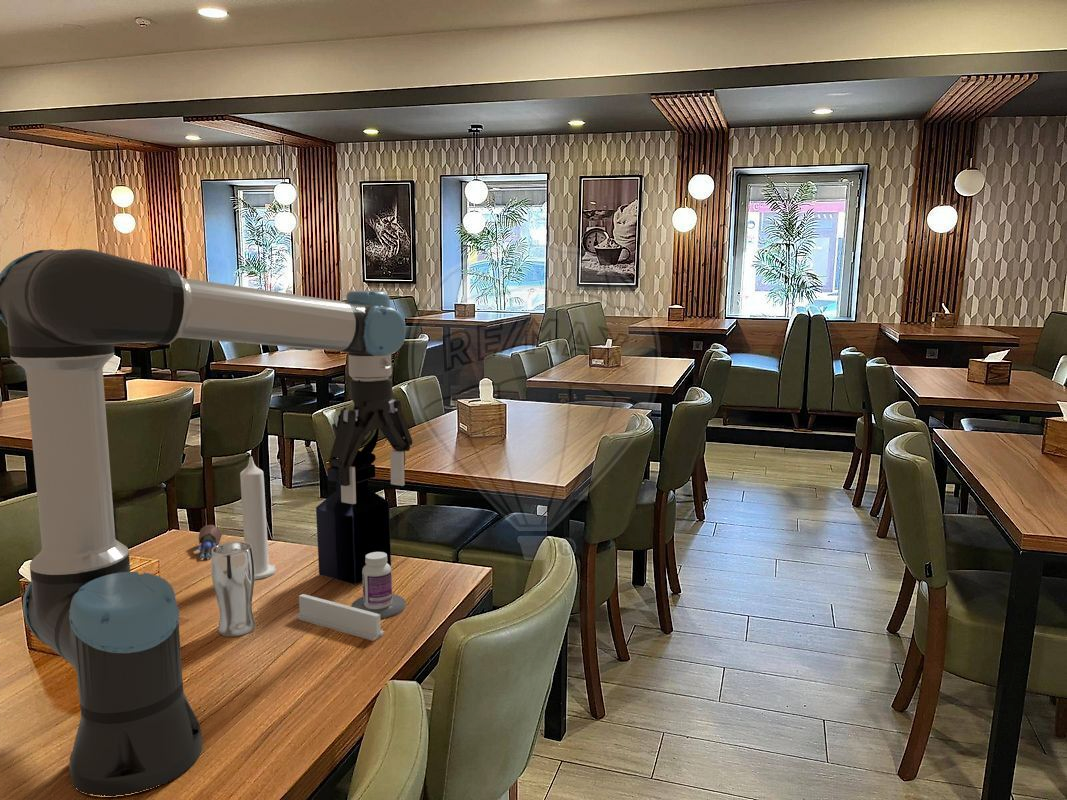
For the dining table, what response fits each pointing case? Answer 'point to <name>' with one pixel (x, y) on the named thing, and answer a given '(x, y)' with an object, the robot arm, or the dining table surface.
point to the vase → (352, 521)
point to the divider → (340, 617)
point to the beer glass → (234, 586)
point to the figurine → (208, 540)
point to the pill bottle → (377, 581)
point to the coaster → (392, 610)
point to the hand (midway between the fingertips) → (374, 493)
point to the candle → (255, 518)
